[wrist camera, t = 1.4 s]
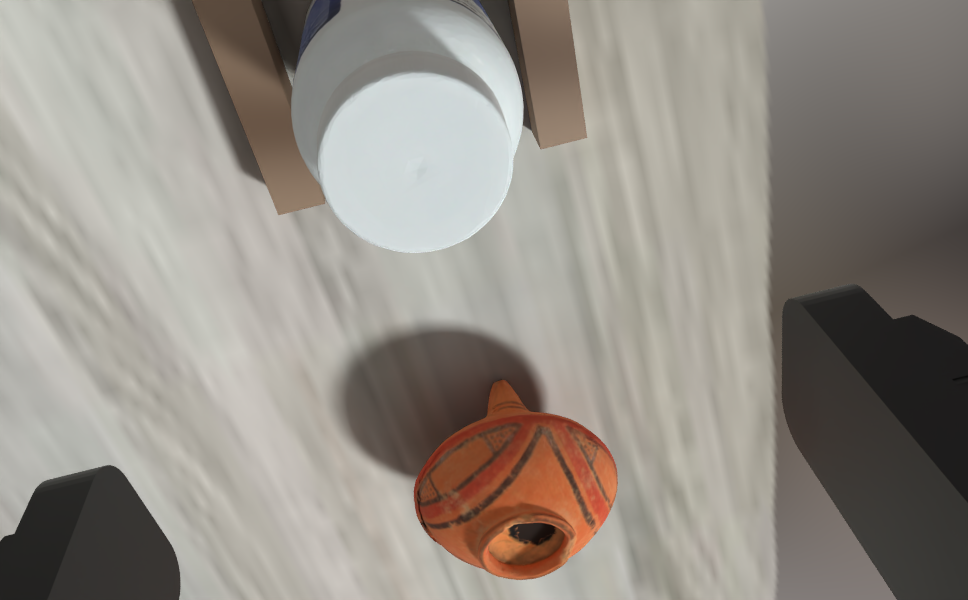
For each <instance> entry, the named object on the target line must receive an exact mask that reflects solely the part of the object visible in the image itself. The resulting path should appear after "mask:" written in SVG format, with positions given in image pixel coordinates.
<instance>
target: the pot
mask: <svg viewBox="0 0 968 600" xmlns="http://www.w3.org/2000/svg"><path fill="white" fill-rule="evenodd" d="M617 484H618V482H617V468H616V465H615V462H614V459H613V457H612V455H611V453H610V451H609V450H608V448H607V447H606V445H605V444H604V443H603V442H602V441H601V440H600V439H599V438H598V437H597V436H596V435H594V434H593V433H592V432H591V431H589V430H588V429H586V428H585V427H584V426H582V425H581V424H579V423H577V422H575V421H573V420H571V419H568V418H565V417H562V416H558V415H553V414H548V413H540V412H530V411H529V410H528V409H527V408H526V407H525V406H524V405H523V403H522V402H521V400H520V398H519V397H518V395H517V394H516V393H515V391H514V390H513V389H512V387H511V386H510V385H509V384H508V383H507V381H505V380H500V381H496V382H495V383H493V385H492V388H491V392H490V396H489V402H488V411H487V416H486V418H484V419H481V420H479V421H476V422H474V423H472V424H470V425H468V426H466V427H464V428H463V429H461V430H459V431H458V432H456V433H454V434H453V435H451V436H450V437H449V438H447V439H446V440H445V441H444V442H443V443H442V444H441V445H440V446H439V447H438V448H437V449H436V450H435V452H434V453H433V454H432V455H431V456H430V458H429V459H428V461H427V462H426V464H425V465H424V467H423V468H422V470H421V472H420V473H419V475H418V477H417V479H416V482H415V487H414V502H415V509H416V514H417V517H418V519H419V521H420V523H421V525H422V527H423V528H424V530H425V531H426V533H427V534H428V535H429V536H430V537H431V538H432V539H433V540H434V541H435V542H437V543H439V544H440V545H442V546H443V547H444V548H445V549H446V550H447V551H448V552H450V553H451V554H452V555H454V556H455V557H457V558H458V559H460V560H462V561H464V562H466V563H468V564H471V565H473V566H476V567H479V568H482V569H485V570H486V571H487V572H489V573H491V574H493V575H496V576H498V577H503V578H507V579H515V580H525V579H534V578H539V577H542V576H545V575H547V574H549V573H551V572H553V571H555V570H557V569H558V568H560V567H561V566H563V565H564V564H565V563H566V562H567V560H568V558H570V557H571V556H573V555H574V554H576V553H577V552H578V551H580V550H581V549H582V548H583V547H584V546H585V545H586V544H587V543H588V542H589V541H590V540H591V538H592V537H593V536H594V535H595V534H596V532H597V531H598V530H599V528H600V527H601V526H602V524H603V523H604V521H605V520H606V518H607V516H608V514H609V512H610V510H611V508H612V505H613V502H614V500H615V496H616V492H617Z"/></svg>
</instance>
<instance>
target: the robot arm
mask: <svg viewBox="0 0 968 600" xmlns="http://www.w3.org/2000/svg"><path fill="white" fill-rule="evenodd" d="M782 403H783V409H784V413H785V417H786V421H787V424H788V427H789V430H790V432H791V435H792V437H793V439H794V441H795V443H796V445H797V447H798V448H799V450H800V452H801V453H802V455H803V456H804V458H805V459H806V461H807V462H808V464H809V465H810V467H811V468H812V470H813V471H814V473H815V475H816V476H817V478H818V479H819V481H820V482H821V484H822V485H823V487H824V488H825V490H826V491H827V493H828V495H829V496H830V498H831V499H832V500H833V502H834V504H835V505H836V507H837V508H838V510H839V512H840V513H841V514H842V516H843V518H844V519H845V521H846V522H847V524H848V525H849V527H850V528H851V530H852V531H853V533H854V534H855V536H856V538H857V539H858V541H859V542H860V543H861V545H862V546H863V548H864V550H865V551H866V553H867V554H868V556H869V558H870V559H871V561H872V562H873V564H874V565H875V567H876V568H877V570H878V571H879V573H880V574H881V576H882V577H883V579H884V581H885V582H886V584H887V585H888V587H889V588H890V590H891V591H892V593H893V594H894V596H895V597H896V599H897V600H968V345H967V344H966V343H965V342H964V341H963V340H962V339H961V338H960V337H958V336H956V335H954V334H952V333H950V332H948V331H946V330H944V329H941V328H939V327H937V326H935V325H933V324H931V323H929V322H927V321H925V320H923V319H920V318H918V317H916V316H914V315H910V316H906V317H901V318H897V319H892V318H891V317H890V316H889V315H888V314H887V313H886V312H885V311H884V310H883V309H882V308H881V307H880V305H879V304H877V302H876V301H875V300H874V299H873V298H872V297H871V296H870V295H869V294H868V293H867V292H866V291H865V290H863V289H862V288H861V287H860V286H858V285H855V284H848V285H844V286H839V287H835V288H832V289H828V290H823V291H819V292H815V293H811V294H807V295H804V296H799V297H795V298H791V299H788V300H787V301H786V302H785V305H784V307H783V315H782ZM179 596H180V571H179V565H178V561H177V557H176V554H175V552H174V549H173V547H172V545H171V544H170V542H169V541H168V539H167V538H166V536H165V535H164V533H163V532H162V530H161V529H160V527H159V526H158V524H157V523H156V521H155V520H154V518H153V517H152V515H151V514H150V512H149V511H148V509H147V508H146V506H145V505H144V503H143V502H142V500H141V499H140V497H139V496H138V494H137V493H136V491H135V490H134V488H133V487H132V485H131V484H130V482H129V481H128V479H127V478H126V477H125V475H124V474H123V473H122V472H121V471H120V470H119V469H118V468H116V467H114V466H111V465H107V466H102V467H98V468H94V469H90V470H86V471H82V472H78V473H74V474H70V475H66V476H62V477H58V478H54V479H50V480H47V481H44V482H42V483H41V484H40V485H39V486H38V487H37V488H36V489H35V491H34V493H33V495H32V497H31V499H30V501H29V503H28V506H27V508H26V510H25V512H24V514H23V516H22V519H21V521H20V523H19V525H18V527H17V530H16V532H15V534H12V535H8V536H4V538H3V539H2V540H1V541H0V600H179Z"/></svg>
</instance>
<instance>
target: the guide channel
mask: <svg viewBox="0 0 968 600" xmlns="http://www.w3.org/2000/svg"><path fill="white" fill-rule="evenodd" d="M192 2H193V5H194V7H195V10H196V12H197V15H198V17H199V20H200V22H201V25H202V27H203V30H204V32H205V35H206V37H207V39H208V42H209V44H210V47H211V49H212V52H213V54H214V57H215V59H216V62H217V64H218V67H219V69H220V72H221V74H222V77H223V79H224V82H225V84H226V86H227V89H228V91H229V94H230V96H231V99H232V101H233V104H234V106H235V109H236V111H237V114H238V116H239V119H240V121H241V124H242V126H243V128H244V131H245V133H246V136H247V138H248V141H249V143H250V146H251V148H252V151H253V153H254V156H255V158H256V161H257V163H258V166H259V168H260V171H261V173H262V175H263V178H264V180H265V183H266V185H267V188H268V190H269V193H270V195H271V198H272V200H273V203H274V205H275V208H276V210H277V213H278V215H281V214H285V213H289V212H293V211H297V210H301V209H305V208H309V207H313V206H317V205H321V204H325V196H324V194H323V191H322V188H321V185H320V184H319V183H318V182H317V181H316V179H315V178H314V177H313V175H312V174H311V172H310V171H309V169H308V167H307V166H306V164H305V162H304V160H303V158H302V156H301V154H300V151H299V148H298V146H297V143H296V140H295V135H294V131H293V125H292V117H291V98H292V86H291V83H290V80H289V77H288V74H287V72H286V69H285V66H284V63H283V60H282V58H281V55H280V52H279V49H278V46H277V44H276V41H275V38H274V35H273V32H272V30H271V27H270V24H269V21H268V18H267V15H266V13H265V10H264V7H263V4H262V1H261V0H192ZM508 4H509V9H510V15H511V20H512V26H513V31H514V36H515V42H516V47H517V53H518V58H519V64H520V69H521V74H522V80H523V85H524V91H525V96H526V102H527V107H528V113H529V118H530V123H531V129H532V133H533V135H534V137H535V139H536V141H537V143H538V145H539V147H540V149H544V148H548V147H552V146H556V145H560V144H564V143H568V142H572V141H576V140H580V139H584V138H587V133H586V126H585V119H584V112H583V105H582V98H581V91H580V84H579V77H578V70H577V63H576V56H575V49H574V42H573V35H572V28H571V21H570V14H569V7H568V0H508Z"/></svg>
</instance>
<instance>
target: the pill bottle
mask: <svg viewBox="0 0 968 600" xmlns="http://www.w3.org/2000/svg"><path fill="white" fill-rule="evenodd" d="M291 117H292V125H293V131H294V135H295V140H296V143H297V146H298V148H299V151H300V154H301V156H302V158H303V160H304V162H305V164H306V166H307V167H308V169H309V171H310V172H311V174H312V175H313V177H314V178H315V179H316V181H317V182H318V183H319V184H320V185H321V188H322V191H323V194H324V196H325V199H326V201H327V203H328V205H329V206H330V208H331V209H332V211H333V212H334V214H335V215H336V216H337V217H338V219H339V220H340V221H341V222H342V223H343V224H344V225H345V226H346V227H347V228H348V229H349V230H351V231H352V232H353V233H354V234H356V235H357V236H359V237H360V238H362V239H364V240H366V241H367V242H369V243H371V244H373V245H376V246H379V247H382V248H386V249H388V250H392V251H397V252H404V253H422V252H430V251H436V250H440V249H444V248H448V247H450V246H452V245H455V244H457V243H460V242H462V241H464V240H465V239H467V238H469V237H470V236H472V235H473V234H475V233H476V232H477V231H478V230H480V229H481V228H482V227H483V226H484V225H485V224H486V223H487V222H488V221H489V220H490V219H491V218H492V217H493V215H494V214H495V213H496V212H497V210H498V209H499V207H500V206H501V204H502V202H503V200H504V198H505V196H506V194H507V191H508V188H509V186H510V182H511V178H512V173H513V157H514V155H515V152H516V149H517V146H518V143H519V140H520V136H521V132H522V126H523V96H522V90H521V85H520V81H519V77H518V74H517V71H516V68H515V65H514V62H513V60H512V58H511V56H510V54H509V52H508V50H507V49H506V47H505V45H504V43H503V42H502V40H501V38H500V36H499V35H498V33H497V31H496V29H495V28H494V26H493V24H492V22H491V20H490V19H489V17H488V15H487V13H486V12H485V10H484V8H483V7H482V5H481V3H480V2H479V0H312V1H311V3H310V6H309V9H308V11H307V15H306V19H305V24H304V30H303V34H302V40H301V45H300V51H299V56H298V61H297V66H296V71H295V76H294V79H293V87H292V98H291Z"/></svg>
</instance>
